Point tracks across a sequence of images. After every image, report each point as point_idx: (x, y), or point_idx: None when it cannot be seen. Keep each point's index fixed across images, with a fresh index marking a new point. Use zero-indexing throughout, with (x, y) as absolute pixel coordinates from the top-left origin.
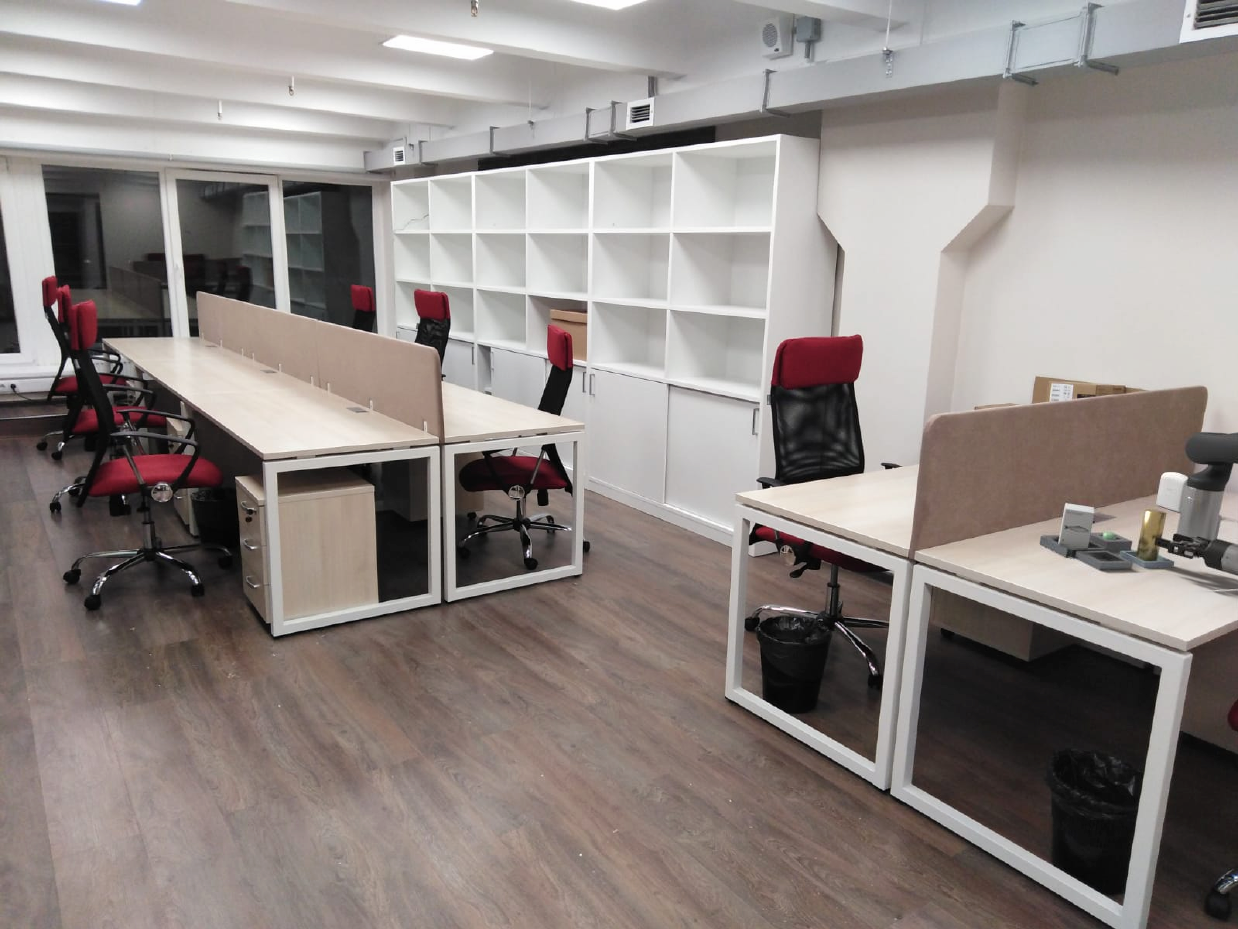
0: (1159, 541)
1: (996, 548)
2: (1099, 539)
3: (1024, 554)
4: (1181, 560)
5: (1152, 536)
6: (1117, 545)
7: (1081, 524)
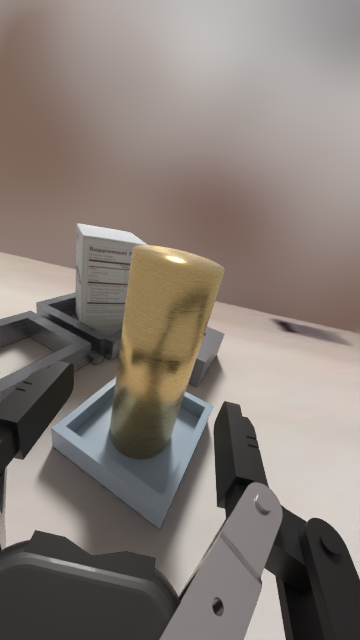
0: (28, 382)
1: (27, 274)
2: None
3: (15, 289)
4: (298, 508)
5: (121, 356)
6: None
7: (78, 263)
